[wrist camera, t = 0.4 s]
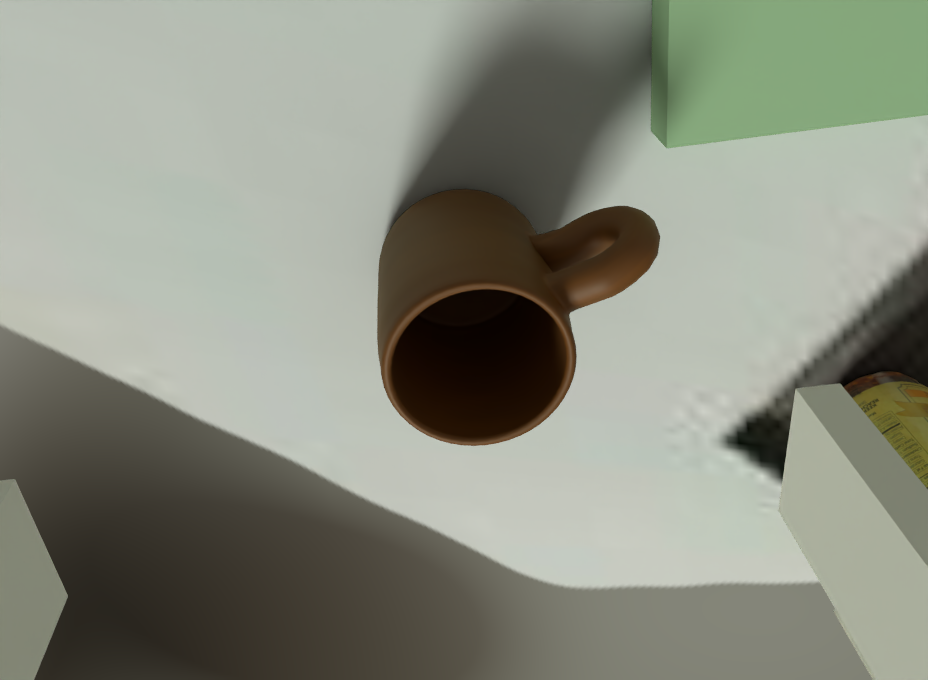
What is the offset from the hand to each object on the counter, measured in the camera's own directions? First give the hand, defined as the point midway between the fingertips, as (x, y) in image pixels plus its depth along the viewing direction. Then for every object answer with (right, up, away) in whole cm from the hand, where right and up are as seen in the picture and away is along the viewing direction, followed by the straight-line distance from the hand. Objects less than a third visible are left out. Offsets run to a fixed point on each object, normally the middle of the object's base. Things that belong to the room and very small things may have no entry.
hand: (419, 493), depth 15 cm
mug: (+2, +8, +25) cm, 26 cm away
